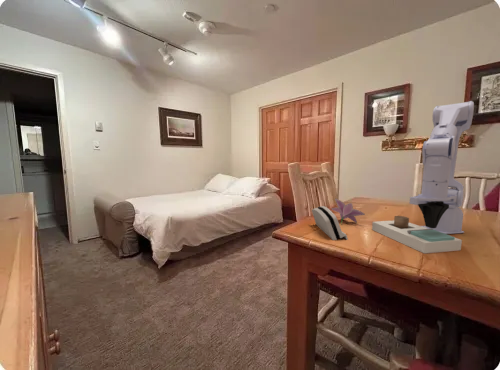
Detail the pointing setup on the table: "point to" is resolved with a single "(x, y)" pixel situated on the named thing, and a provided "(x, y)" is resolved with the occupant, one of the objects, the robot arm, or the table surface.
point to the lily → (347, 211)
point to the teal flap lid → (431, 235)
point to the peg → (401, 222)
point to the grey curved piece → (328, 222)
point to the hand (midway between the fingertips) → (430, 227)
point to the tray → (415, 238)
